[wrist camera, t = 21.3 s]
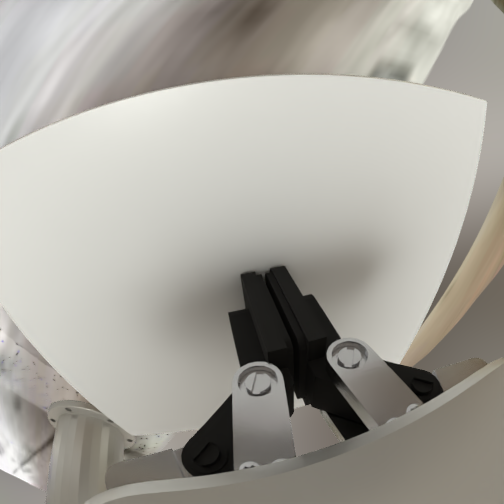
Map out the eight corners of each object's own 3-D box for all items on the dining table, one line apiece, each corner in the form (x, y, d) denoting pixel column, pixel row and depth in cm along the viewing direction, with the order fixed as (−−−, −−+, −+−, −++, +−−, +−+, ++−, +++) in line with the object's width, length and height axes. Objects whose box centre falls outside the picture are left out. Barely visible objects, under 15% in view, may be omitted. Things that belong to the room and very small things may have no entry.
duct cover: (389, 362, 21) (394, 371, 21) (131, 424, 18) (132, 435, 18) (471, 95, 9) (486, 101, 8) (-46, 176, 6) (-60, 187, 5)
